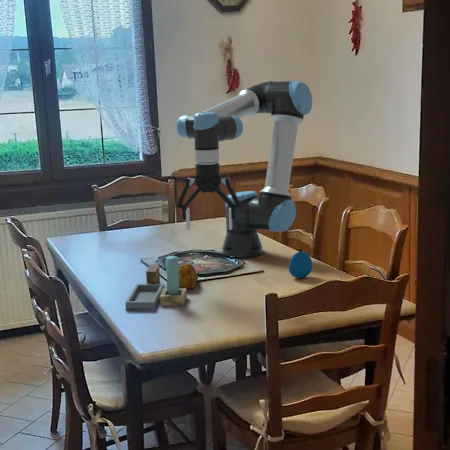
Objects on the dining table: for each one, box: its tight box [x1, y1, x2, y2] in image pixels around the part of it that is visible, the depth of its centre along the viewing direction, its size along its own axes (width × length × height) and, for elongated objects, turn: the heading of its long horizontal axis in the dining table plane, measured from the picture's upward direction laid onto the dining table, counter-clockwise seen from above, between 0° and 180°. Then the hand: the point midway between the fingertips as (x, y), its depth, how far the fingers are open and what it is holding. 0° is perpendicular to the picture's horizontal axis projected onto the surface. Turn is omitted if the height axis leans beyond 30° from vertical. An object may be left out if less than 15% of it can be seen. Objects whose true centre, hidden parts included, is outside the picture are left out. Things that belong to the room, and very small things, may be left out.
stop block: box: [145, 264, 161, 284], centre depth 227 cm, size 3×7×6 cm, turn 175°
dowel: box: [165, 255, 179, 295], centre depth 210 cm, size 4×4×14 cm
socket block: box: [159, 288, 188, 307], centre depth 212 cm, size 7×7×3 cm
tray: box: [124, 283, 165, 311], centre depth 213 cm, size 9×17×2 cm, turn 175°
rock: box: [178, 263, 199, 290], centre depth 226 cm, size 11×8×10 cm
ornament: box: [288, 248, 313, 279], centre depth 230 cm, size 8×5×10 cm, turn 111°
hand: (209, 228), depth 221 cm, fingers open, 13 cm apart
